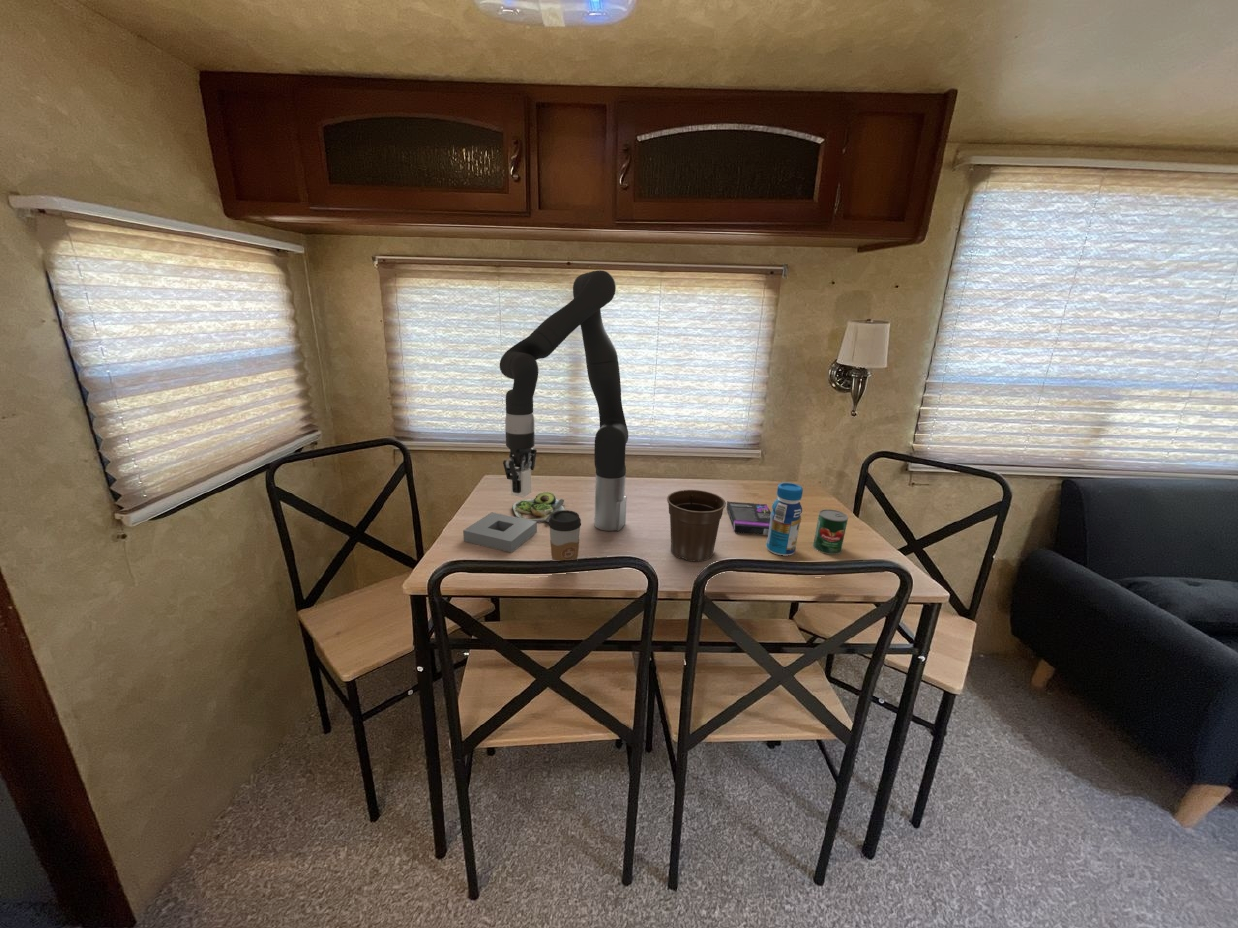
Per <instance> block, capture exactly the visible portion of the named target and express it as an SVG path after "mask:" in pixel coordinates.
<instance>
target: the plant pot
mask: <svg viewBox="0 0 1238 928" xmlns="http://www.w3.org/2000/svg"><path fill="white" fill-rule="evenodd" d="M666 502H667V503H668V513H669V518H670V519H669V521H670V522H669V523H670V526H669V527H670V552H671V553H672V554H673V555H674V556H675V557H677V558H679V559H685V560H686V561H687V562H688V561H689V562H703V561H707V560H709V559H710V558H711V557H712V556H713V555H714V551H715V547H716V546H715V545H716V542H717V537H718V532H719V531H718V530H719V527H720V522H721V519H722V518H723V512H724V510H725V508H726V507H727V501H726V500H725V499H724V498H723V497H721V496H720V495H718V494H715V493H712V492H709V491H706V490H699V489H682V490H681V489H680V490H677V491H674V492H673V491H672V492H670V494H668V496H667V497H666Z"/></svg>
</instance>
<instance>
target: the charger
mask: <svg viewBox="0 0 1238 928" xmlns="http://www.w3.org/2000/svg"><path fill="white" fill-rule="evenodd" d="M516 468H518V469H519V468H520V467H516ZM516 474H518V472H517V471H516ZM510 475H511V473H510ZM520 480H521V492H520V493H514V492H513V490H512V488H513V487H512V480H510V495H511V496H513V497H518V498H519V497H520V498H525V497H528V496H529V495H530V494H531V493H532V470H531V469H529V468H528V469H527V468H524V469H523V472H522V473H521V479H520Z"/></svg>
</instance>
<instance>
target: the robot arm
mask: <svg viewBox="0 0 1238 928" xmlns="http://www.w3.org/2000/svg"><path fill="white" fill-rule="evenodd" d="M616 288H617V285H616V281H615V278H614V277H613V275H611V274H610V273H609V272H608V271H605V270H597V269H596V270H594V271H589V272H585V273H582V274H580V275H578V276H576V278H575V279H574V282H573V285H572V296H573V299H571V301H569V302H568V303H567V304H565V305H564V306H563V307H561V308H560V309H558V310H556V312H554V313H552V314H551V315H550V316H548V317H547V318H546V319H545V320H544V321H543V322H541V323H540V324H539V325H538V326H537V327H536V328H535V329H534V330H533V331H532V332H531V333H530V334H529V335H528V336H527V337H526V338H524V339H522V340H520V341H519V342H517V343H515V344H514V345H513V346H512V347H510V348H509V349H508V350H506V351H505V353H503V355H502V357H501V358H500V360H499V370H500V372H501V374H502V375H503V376H504V377H506V378H508V379H511V380H513V385H512V388H511V389H509V390H507V392H506V394H505V421H504V424H505V425H504V426H505V445H506V447H507V448H508V449H509V454H508V455H509V458H508V459H507V460H506V459H504V460H503V461H502V464H503V469H504V473H505V476H506V479H507V480H510V481H511V480H512V487H513V488H512V490H513V492H514V493H520V492H521V480H520V479H521V473H522V472H523V469H524V468H527V469H528V468H529V469H531V471H534V469H535V463H536V457H537V449H536V448H534V447H535V443H536V442H535V440H536V439H535V438H536V437H535V436H536V435H535V417H534V395H535V391H536V387H537V384H538V383H537V382H538V377H539V364H538V362H537V360H540V359H541V360H543V359H545V358H547V357H550V355H552V353H553V352H554V351H555V350H556V349H557V348H558V347H559V346H560V345H561V344H562V343H563V342H564V341H565V340H566V339H567V338H568V337H569V336H570V335H571V333H573V332H574V331H575V330H576V329H577V328H578V327H580V330H581V336H582V341H583V342H582V344H583V348H584V349H583V350H584V355H585V364H586V370H587V377H588V382H589V385H590V388H591V390H592V394H593V395H594V398H595V401H596V403H597V407H598V415H599V416H598V417H599V429H598V430H597V432H596V433H595V435H594V436H595V437H594V450H593V451H594V453H593V454H594V459H593V460H594V467H595V481H594V482H595V486H594V489H595V490H594V519H593V520H594V522H593V523H594V527H596V528H597V529H598V530H600V531H609V532H611V531H618V532H620V531H621V529H622V528H623V527H624V526H625V525H626V521H627V520H626V519H627V500H628V497H627V496H626V495H625V494H626V492H625V491H626V471H627V468H626V467H627V466H626V445H627V443H628V441H629V429H628V425H627V421H626V418H625V413H624V409H623V403H622V387H621V385H622V384H621V373H620V364H619V357H618V354H617V350H616V348H615V346H614V344H613V342H612V340H611V338H610V336H609V334H608V332H607V331H606V329H605V327H604V322H603V318H602V312H601V311H602V310H601V309H602V308H603V307H605V306H606V305H608V304H609V303H611V302H612V300H613V299H614V297H615V294H616ZM517 467H520V468H519V469H518V468H517ZM516 471H517V472H518V474H516ZM510 473H511V475H510Z"/></svg>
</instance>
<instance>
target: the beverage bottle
mask: <svg viewBox="0 0 1238 928" xmlns="http://www.w3.org/2000/svg"><path fill="white" fill-rule="evenodd" d="M803 492H804V488H803V487H802V486H801V485H799V484H796V483H793V482H781V483H779V484H778V485H777V490H776V496H777V498H776V499H775V500H774V501H773V503H772V506H771V509H772V511H770V512H771V514H770V525H769V532H768V535H767V539H766V546H765V547H766V549H767V550H768V551H769V552H771V553H772V554H775V555H777V556H781V555H783V557H785V556H786V557H787V556H788V555H789V556H792V555H794V554H795V552H796V546H797V542H798V541H797V540H798V535H799V530H800V527H801V526H800V524H801V522H802V516H801V514H802V513H803V508H802V504H801V502H800V501H801V500H802V498H803V494H804V493H803Z"/></svg>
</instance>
